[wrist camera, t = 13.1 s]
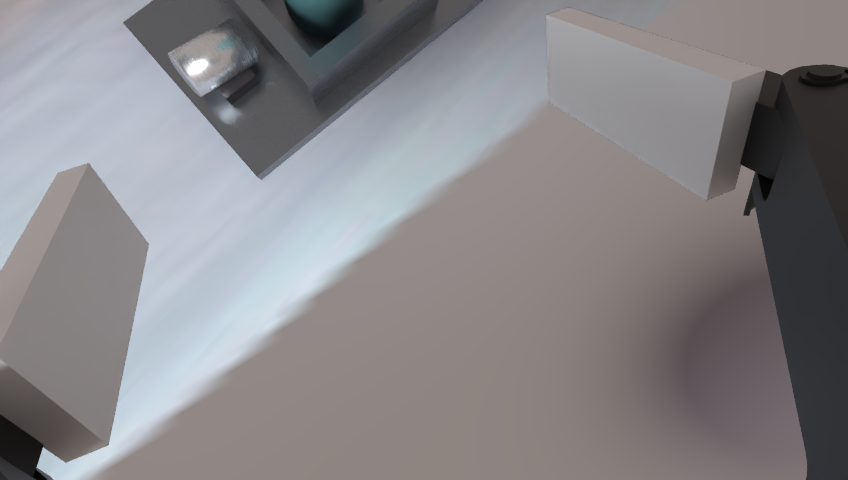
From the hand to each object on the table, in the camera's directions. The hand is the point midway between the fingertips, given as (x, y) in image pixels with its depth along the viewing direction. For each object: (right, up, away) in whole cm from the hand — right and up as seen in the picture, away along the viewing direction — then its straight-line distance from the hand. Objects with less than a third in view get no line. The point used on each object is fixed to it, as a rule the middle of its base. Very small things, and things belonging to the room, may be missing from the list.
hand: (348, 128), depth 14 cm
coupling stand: (-4, +11, +14) cm, 18 cm away
